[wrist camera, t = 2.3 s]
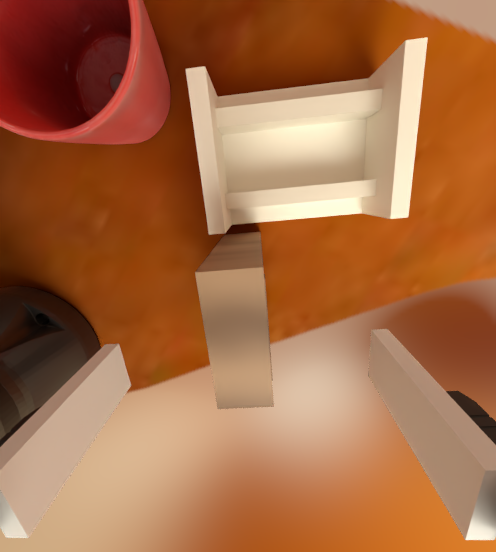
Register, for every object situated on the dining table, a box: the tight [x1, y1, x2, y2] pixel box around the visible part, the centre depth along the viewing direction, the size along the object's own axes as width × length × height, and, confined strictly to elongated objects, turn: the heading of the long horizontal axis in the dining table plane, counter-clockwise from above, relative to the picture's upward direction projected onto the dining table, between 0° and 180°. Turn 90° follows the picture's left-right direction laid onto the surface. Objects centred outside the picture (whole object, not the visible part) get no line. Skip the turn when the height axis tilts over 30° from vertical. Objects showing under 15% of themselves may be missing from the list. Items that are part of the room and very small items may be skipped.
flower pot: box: [0, 0, 171, 144], centre depth 16 cm, size 11×11×10 cm
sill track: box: [186, 37, 428, 235], centre depth 19 cm, size 14×10×6 cm
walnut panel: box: [195, 232, 274, 409], centre depth 20 cm, size 9×4×12 cm, turn 5°
